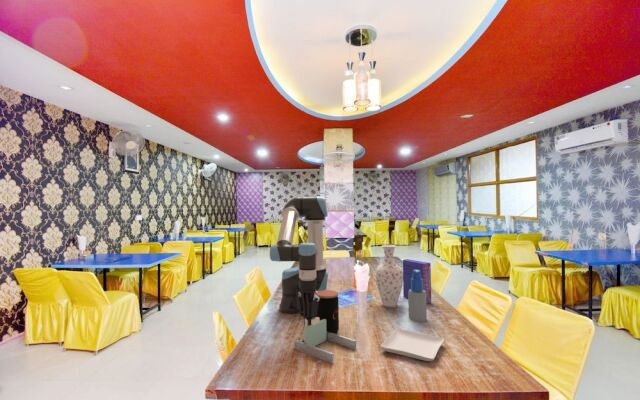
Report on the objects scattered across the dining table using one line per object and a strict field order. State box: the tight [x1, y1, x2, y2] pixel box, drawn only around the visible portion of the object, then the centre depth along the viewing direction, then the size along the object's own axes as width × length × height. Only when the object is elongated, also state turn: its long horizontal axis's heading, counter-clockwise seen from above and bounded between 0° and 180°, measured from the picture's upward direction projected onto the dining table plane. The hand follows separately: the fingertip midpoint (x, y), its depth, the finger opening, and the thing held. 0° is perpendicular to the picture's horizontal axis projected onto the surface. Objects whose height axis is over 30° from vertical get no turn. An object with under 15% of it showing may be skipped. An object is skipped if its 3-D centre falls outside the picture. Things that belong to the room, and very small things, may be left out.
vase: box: [375, 244, 403, 308], centre depth 189 cm, size 16×16×35 cm
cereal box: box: [402, 259, 432, 305], centre depth 199 cm, size 17×5×24 cm, turn 34°
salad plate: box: [379, 328, 445, 362], centre depth 132 cm, size 21×21×3 cm
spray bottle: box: [407, 270, 428, 323], centre depth 166 cm, size 9×9×25 cm
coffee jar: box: [316, 289, 340, 334], centre depth 151 cm, size 11×11×18 cm
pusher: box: [303, 317, 328, 347], centre depth 136 cm, size 1×13×11 cm, turn 139°
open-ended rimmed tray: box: [294, 331, 357, 365], centre depth 132 cm, size 20×16×4 cm
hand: (308, 333), depth 138 cm, fingers closed
